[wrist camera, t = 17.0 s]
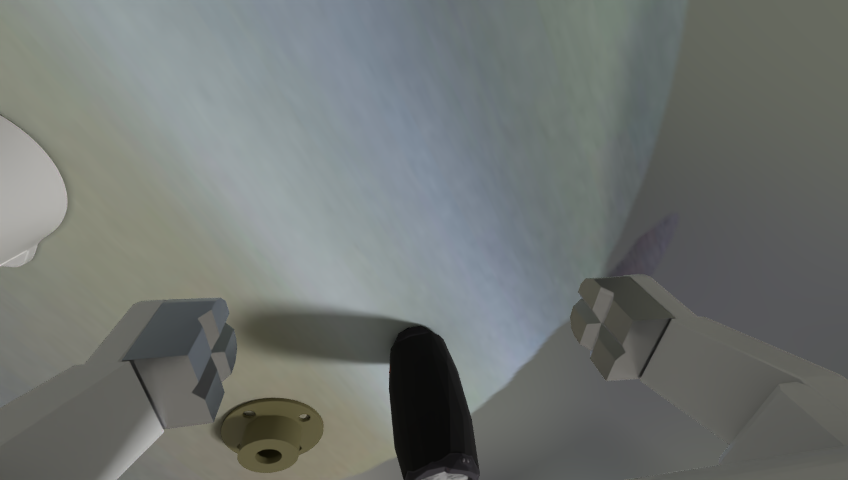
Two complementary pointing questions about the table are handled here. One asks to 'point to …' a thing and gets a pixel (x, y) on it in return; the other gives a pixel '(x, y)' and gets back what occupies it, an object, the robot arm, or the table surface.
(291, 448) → the flange
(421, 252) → the table surface
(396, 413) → the portable speaker
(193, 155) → the table surface
